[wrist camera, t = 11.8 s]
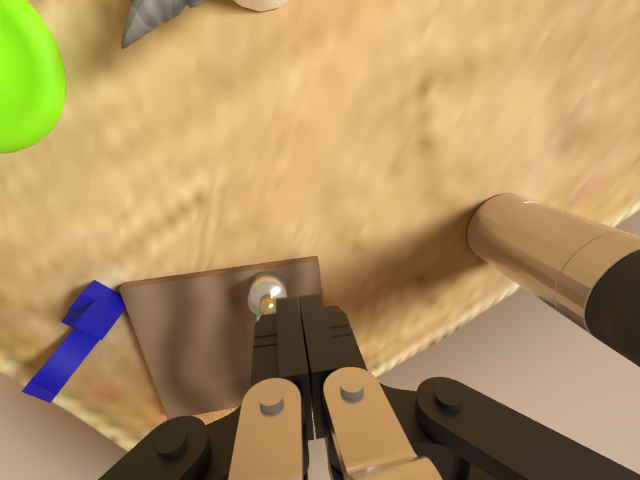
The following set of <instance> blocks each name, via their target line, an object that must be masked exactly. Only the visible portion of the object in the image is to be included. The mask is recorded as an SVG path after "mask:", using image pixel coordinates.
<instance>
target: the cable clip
mask: <svg viewBox="0 0 640 480" xmlns="http://www.w3.org/2000/svg"><path fill="white" fill-rule="evenodd" d="M125 308H126V306H125V304H124V301H123V298H122V296H121V294H119V293H117V292H115V291H114V290H112V289H110V288H108V287H106V286H105V285H103V284H101V283H99V282H97V281H96V280H94V281H93V282H92V283H91V284H90V285H89V286H88V287H87V288H86V289H85V290H84V291H83V292H82V293H81V294H80V296H79V297H78V298H77V300H76V301H75V302H74V304H73V305H72V306H71V308H70V309H69V311H68V313H67V315H66V316H65V318H64V319H63V320H62V323H64V324H66V325H68V326H70V327H72V328H74V329H73V330H72V332H71V333H70V334H69V335H68V337H67V338H66V339H65V340H64V342H63V343H62V344H61V345H60V346H59V348H58V349H57V350H56V351H55V352H54V354H53V355H52V356H51V357H50V358H49V360H48V361H47V362H46V363H45V364H44V365H43V367H42V368H41V369H40V370H39V371H38V372H37V374H36V375H35V376H34V377H33V378H32V379H31V381H30V382H29V383H28V384H27V385H26V387H25V388H24V389H23V390H22V392H24V393H26V394H29V395H32V396H34V397H37V398H39V399H42V400H44V401H47V402H49V403H50V402H51V401H52V400H53V399H54V398H55V396H56V395H57V394H58V393H59V391H60V390H61V389H62V387H63V386H64V385H65V383H66V382H67V381H68V379H69V378H70V377H71V375H72V374H73V373H74V372H75V370H76V369H77V368H78V366H79V365H80V364H81V363H82V361H83V360H84V359H85V357H86V356H87V355H88V354H89V352H90V351H91V350H92V349H93V347H94V346H95V345H96V344H97V342H98V341H99V340H102V339H103V337H104V336H105V335H106V334H107V333H108V331H109V330H110V329H111V327H112V326H113V325H114V323H115V322H116V320H117V319H118V318H119V316H120V315H121V314H122V312H123V311H124V309H125Z"/></svg>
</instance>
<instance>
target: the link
mask: <svg viewBox="0 0 640 480" xmlns="http://www.w3.org/2000/svg"><path fill="white" fill-rule="evenodd" d="M284 297H287V291H286V283H285V281H284V279H283V278H282V277H281V276H280V275H279V274H277V273H275V272H270V271H266V272H261V273H259V274H257V275H256V276H255V277H254V278H253V279H252V280H251V282H250V285H249V294H248V306H249V308H250V310H251V311H252V312H253V313H254V314H256V315H257V321H258V320H259V318H260V317H261V315H267V314H275V313H276V298H284Z"/></svg>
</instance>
